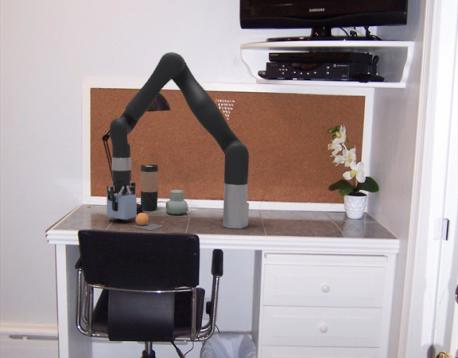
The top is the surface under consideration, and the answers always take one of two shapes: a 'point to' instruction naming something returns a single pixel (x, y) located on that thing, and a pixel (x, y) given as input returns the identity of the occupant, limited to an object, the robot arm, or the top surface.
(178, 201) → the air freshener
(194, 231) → the top surface
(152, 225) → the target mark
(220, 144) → the robot arm
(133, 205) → the blue-grey block
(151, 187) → the travel mug
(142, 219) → the ball
